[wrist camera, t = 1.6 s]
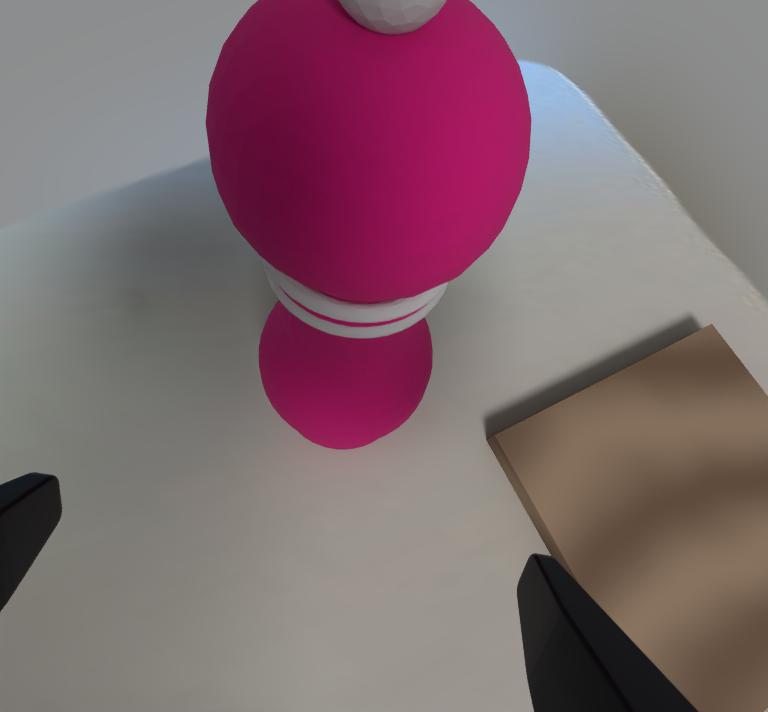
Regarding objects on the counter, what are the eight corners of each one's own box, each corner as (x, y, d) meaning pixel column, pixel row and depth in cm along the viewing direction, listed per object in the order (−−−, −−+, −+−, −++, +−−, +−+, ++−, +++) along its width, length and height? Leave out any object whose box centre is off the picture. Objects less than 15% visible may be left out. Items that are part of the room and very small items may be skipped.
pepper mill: (354, 491, 22) (508, 247, 3) (240, 398, 23) (-128, -187, 4) (439, 379, 24) (791, -108, 6) (333, 300, 25) (351, -332, 7)
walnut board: (884, 581, 23) (912, 584, 22) (667, 762, 19) (688, 776, 18) (696, 332, 27) (711, 323, 26) (486, 439, 24) (494, 435, 22)
